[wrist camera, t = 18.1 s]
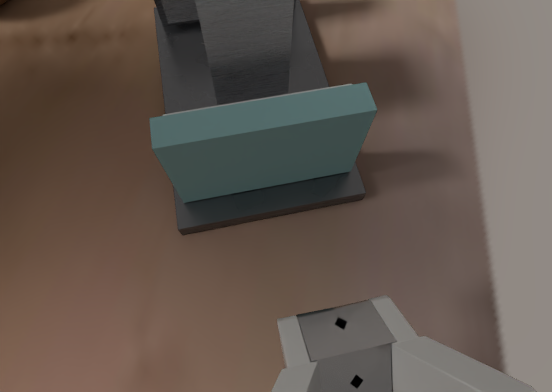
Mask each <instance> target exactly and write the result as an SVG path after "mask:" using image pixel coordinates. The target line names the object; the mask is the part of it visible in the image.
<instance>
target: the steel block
mask: <svg viewBox="0 0 552 392" xmlns="http://www.w3.org/2000/svg"><path fill="white" fill-rule="evenodd" d="M195 3H196V7H197V12H198V17H199V21H200V26H201V30H202V35H203V40H204V44H205V49H206V53H207V58H208V63H209V67H210V72H211V76H212V81H213V86H214V90H215V95H216V99H217V104H218V105H224V104H230V103H236V102H242V101H248V100H254V99H260V98H266V97H272V96H278V95H284V94H288V88H289V72H290V56H291V40H292V24H293V9H294V0H195Z"/></svg>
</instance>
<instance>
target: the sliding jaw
mask: <svg viewBox="0 0 552 392" xmlns="http://www.w3.org/2000/svg"><path fill="white" fill-rule="evenodd" d="M376 112H377V108H376V105H375V103H374V100H373V98H372V95H371V93H370V90H369V88H368V85H367V83H359V84H353V85H352V83H351V84H345V85H339V86H333V87H327V88H321V89H315V90H309V91H303V92H296V93H290V94H284V95H278V96H272V97H266V98H260V99H254V100H248V101H242V102H236V103H230V104H224V105H217V106H211V107H205V108H199V109H193V110H187V111H181V112H175V113H169V114H163V116H159V117H153V118H149V119H150V130H151V142H152V150H153V151H154V153H155V155H156V156H157V158H158V160H159V161H160V163H161V165H162V167H163V168H164V170H165V172H166V173H167V175H168V177H169V179H170V180H171V182H172V184H173V185H174V187H175V189H176V191H177V192H178V194H179V196H180V197H181V199H182V201H183V203H186V202H191V201H196V200H202V199H207V198H212V197H218V196H223V195H228V194H233V193H239V192H244V191H249V190H255V189H260V188H265V187H270V186H276V185H281V184H286V183H292V182H297V181H302V180H308V179H313V178H318V177H323V176H329V175H334V174H339V173H345V172H350V171H351V170H352V167H353V165H354V163H355V160H356V158H357V156H358V153H359V151H360V149H361V147H362V144H363V142H364V140H365V137H366V135H367V133H368V130H369V128H370V126H371V123H372V121H373V119H374V117H375V114H376Z"/></svg>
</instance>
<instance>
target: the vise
mask: <svg viewBox="0 0 552 392" xmlns="http://www.w3.org/2000/svg"><path fill="white" fill-rule="evenodd" d="M154 1H155V4H156V7H157V8H154V13H155V22H156V31H157V41H158V50H159V59H160V68H161V77H162V87H163V96H164V105H165V114H169V113H175V112H181V111H187V110H193V109H199V108H205V107H211V106H217V105H218V104H217V99H216V95H215V90H214V86H213V81H212V76H211V72H210V67H209V63H208V58H207V53H206V49H205V44H204V40H203V35H202V30H201V26H200V21H199V17H198V12H197V7H196V3H195V0H154ZM327 87H329V84H328V82H327V79H326V76H325V73H324V70H323V67H322V64H321V61H320V58H319V56H318V53H317V50H316V47H315V44H314V41H313V38H312V35H311V33H310V30H309V27H308V24H307V21H306V18H305V15H304V12H303V9H302V7H301V4H300V1H299V0H294V9H293V24H292V40H291V56H290V72H289V88H288V94H290V93H296V92H303V91H309V90H315V89H321V88H327ZM173 188H174V197H175V206H176V215H177V225H178V230H179V231H180V233H181V234H182V235H185V234H190V233H195V232H200V231H205V230H210V229H215V228H220V227H225V226H230V225H235V224H240V223H245V222H251V221H256V220H261V219H266V218H271V217H276V216H281V215H286V214H291V213H296V212H301V211H306V210H311V209H316V208H322V207H327V206H332V205H337V204H342V203H347V202H352V201H357V200H362V199H363V197H364V195H365V194H366V191H365V188H364V185H363V183H362V180H361V177H360V174H359V171H358V168H357V165H356V162H355V163H354V165H353V167H352V170H351V171H350V172H345V173H339V174H334V175H329V176H323V177H318V178H313V179H308V180H302V181H297V182H292V183H286V184H281V185H276V186H270V187H265V188H260V189H255V190H249V191H244V192H239V193H233V194H228V195H223V196H218V197H212V198H207V199H202V200H196V201H191V202H186V203H183V201H182V199H181V197H180V196H179V194H178V192H177V191H176V189H175V187H174V185H173Z"/></svg>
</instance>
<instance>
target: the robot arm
mask: <svg viewBox="0 0 552 392" xmlns="http://www.w3.org/2000/svg"><path fill="white" fill-rule="evenodd" d="M277 324H278V330H279V335H280V341H281V347H282V353H283V358H284V364H285V369H282V370H281V372H280V374H279V376H278V378H277V380H276V383H275V385H274V387H273V389H272V391H271V392H536V391H535V390H534V388H532V386H530V385H528V384H525V383H523V382H521V381H519V380H517V379H515V378H513V377H511V376H509V375H506V374H504V373H502V372H500V371H498V370H496V369H494V368H492V367H490V366H488V365H485V364H483V363H481V362H479V361H477V360H475V359H473V358H471V357H469V356H466V355H464V354H462V353H460V352H458V351H456V350H454V349H452V348H450V347H447V346H445V345H443V344H441V343H439V342H437V341H435V340H433V339H431V338H428V337H426V336H422V337H419V336H418V335H417V333H416V332H415V331H414V329H413V328H412V327H411V325H410V324H409V323H408V321H407V320H406V319H405V317H404V316H403V315H402V313H401V312H400V311H399V309H398V308H397V307H396V305H395V304H394V302H393V301H392V300H391V298H390V297H389V296H387V295H383V296H379V297H375V298H371V299H368V300H364V301H360V302H356V303H351V304H347V305H343V306H338V307H334V308H329V309H323V310H318V311H313V312H308V313H303V314H298V315H296V316H295V315H294V316H289V317H285V318H280V319H277Z"/></svg>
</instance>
